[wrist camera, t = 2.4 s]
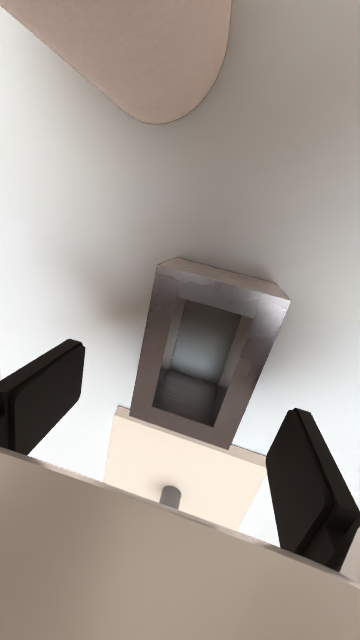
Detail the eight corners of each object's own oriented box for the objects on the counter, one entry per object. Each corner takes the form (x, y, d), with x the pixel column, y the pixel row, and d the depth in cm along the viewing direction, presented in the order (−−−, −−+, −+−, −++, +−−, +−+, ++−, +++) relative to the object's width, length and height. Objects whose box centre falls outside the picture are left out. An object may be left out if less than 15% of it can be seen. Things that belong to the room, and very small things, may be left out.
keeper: (119, 406, 19) (68, 483, 13) (267, 457, 18) (285, 568, 12) (104, 499, 24) (60, 589, 18) (221, 546, 22) (218, 659, 16)
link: (176, 257, 14) (157, 264, 11) (275, 283, 14) (291, 300, 10) (150, 378, 18) (128, 415, 14) (229, 403, 17) (228, 450, 13)
